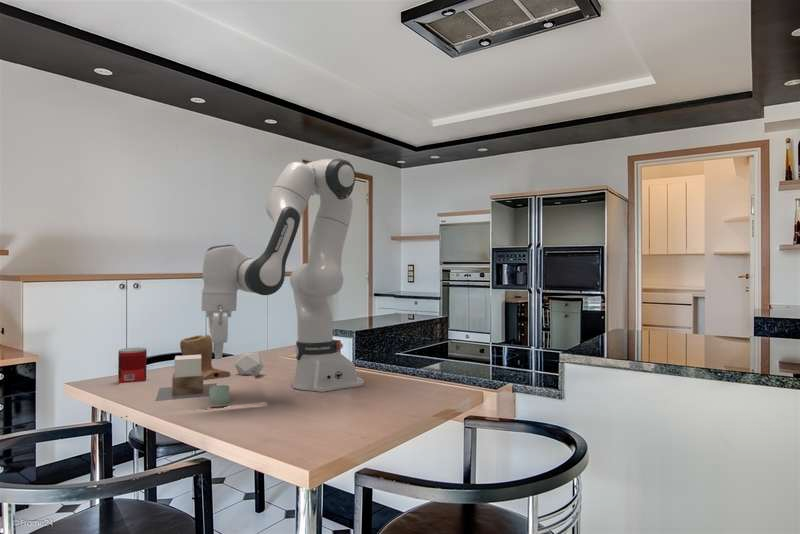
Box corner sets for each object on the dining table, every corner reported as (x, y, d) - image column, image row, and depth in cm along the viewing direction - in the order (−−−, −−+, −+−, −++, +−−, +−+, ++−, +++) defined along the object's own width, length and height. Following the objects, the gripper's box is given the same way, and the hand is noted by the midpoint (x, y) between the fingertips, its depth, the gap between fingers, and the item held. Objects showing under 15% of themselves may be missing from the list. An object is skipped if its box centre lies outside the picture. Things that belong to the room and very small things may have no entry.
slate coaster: (216, 387, 151) (216, 383, 151) (218, 399, 136) (218, 395, 136) (159, 392, 145) (159, 388, 145) (155, 405, 130) (155, 401, 130)
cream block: (201, 371, 145) (201, 354, 145) (201, 375, 139) (201, 358, 139) (175, 373, 142) (175, 356, 142) (174, 377, 136) (174, 359, 136)
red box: (151, 382, 158) (151, 348, 158) (126, 386, 151) (126, 351, 152) (138, 379, 162) (138, 346, 162) (113, 383, 155) (113, 349, 156)
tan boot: (172, 380, 161) (173, 335, 161) (205, 374, 170) (205, 331, 171) (199, 386, 152) (199, 338, 152) (231, 379, 162) (231, 334, 162)
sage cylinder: (228, 402, 133) (228, 384, 133) (229, 407, 128) (230, 388, 128) (209, 404, 131) (209, 386, 131) (209, 409, 126) (209, 390, 126)
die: (247, 382, 160) (265, 357, 163) (225, 368, 161) (244, 343, 165) (254, 386, 168) (271, 361, 171) (233, 372, 169) (251, 348, 173)
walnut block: (202, 387, 146) (202, 370, 146) (203, 393, 138) (203, 375, 138) (173, 389, 142) (173, 372, 143) (172, 396, 135) (172, 378, 135)
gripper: (234, 306, 121) (232, 361, 121) (229, 302, 140) (227, 350, 140) (207, 306, 119) (205, 362, 119) (206, 302, 138) (204, 350, 137)
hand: (217, 355), depth 129 cm, fingers open, 8 cm apart
